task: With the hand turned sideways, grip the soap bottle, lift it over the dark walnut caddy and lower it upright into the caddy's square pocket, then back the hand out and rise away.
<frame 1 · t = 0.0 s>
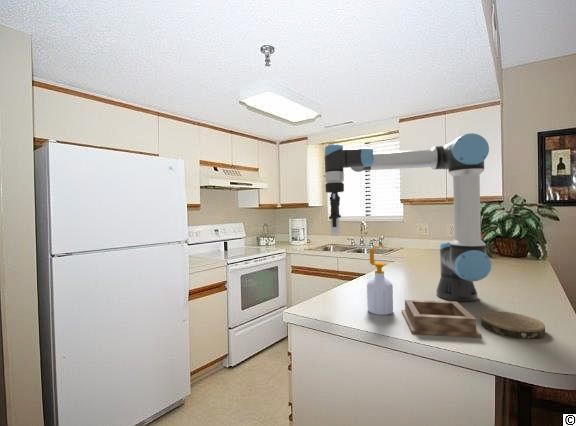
hand: (335, 234, 124), 28 cm above the counter, tool pointing down, fingers open, 13 cm apart
walnut caddy: (437, 323, 99), on the counter
wood slice: (511, 330, 93), on the counter
soap bottle: (380, 311, 112), on the counter
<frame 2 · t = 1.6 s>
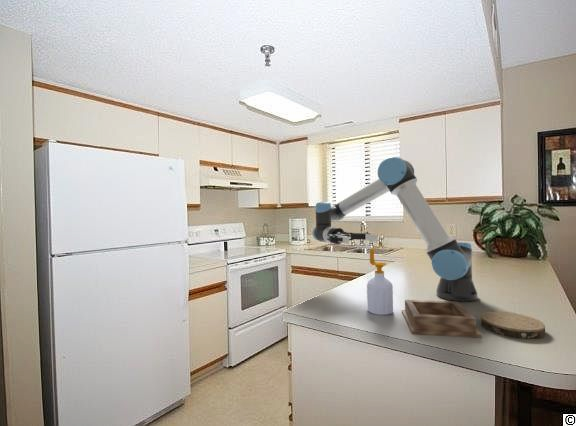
hand: (362, 239, 120), 26 cm above the counter, tool horizontal, fingers open, 13 cm apart
nothing on the counter moved.
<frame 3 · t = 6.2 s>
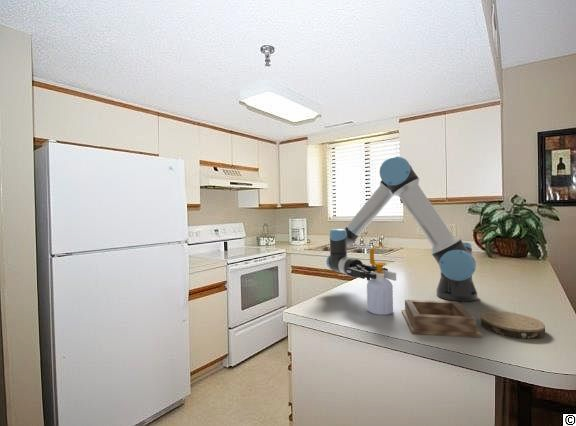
hand: (389, 277, 107), 14 cm above the counter, tool horizontal, fingers closed on soap bottle, 5 cm apart
soap bottle: (380, 311, 112), on the counter, touching gripper
everything else where it was.
when the fingers open (16 cm above the counter, at t = 11.1 s): soap bottle drops 1 cm, resting on walnut caddy.
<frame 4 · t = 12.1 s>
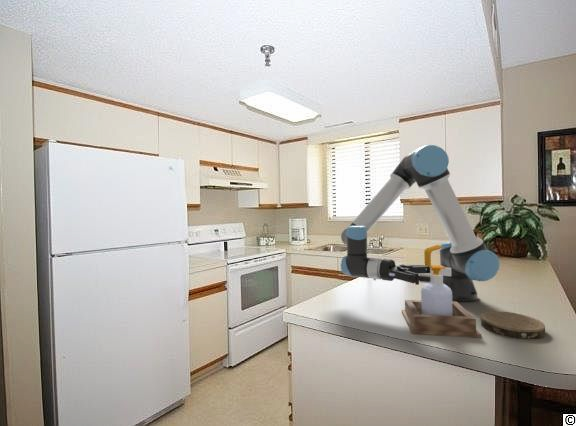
hand: (447, 276, 96), 16 cm above the counter, tool horizontal, fingers open, 13 cm apart
soap bottle: (436, 321, 99), point 1 cm above the counter, touching walnut caddy
everything else where it was.
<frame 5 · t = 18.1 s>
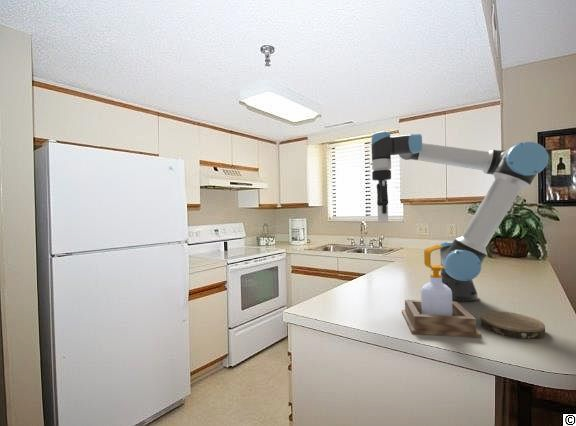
hand: (382, 221, 126), 33 cm above the counter, tool pointing down, fingers open, 13 cm apart
nothing on the counter moved.
at the end: soap bottle 0.1 cm off-centre on the walnut caddy, point 0.8 cm above the walnut caddy's base; soap bottle tilted 0°; the gripper is holding nothing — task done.
